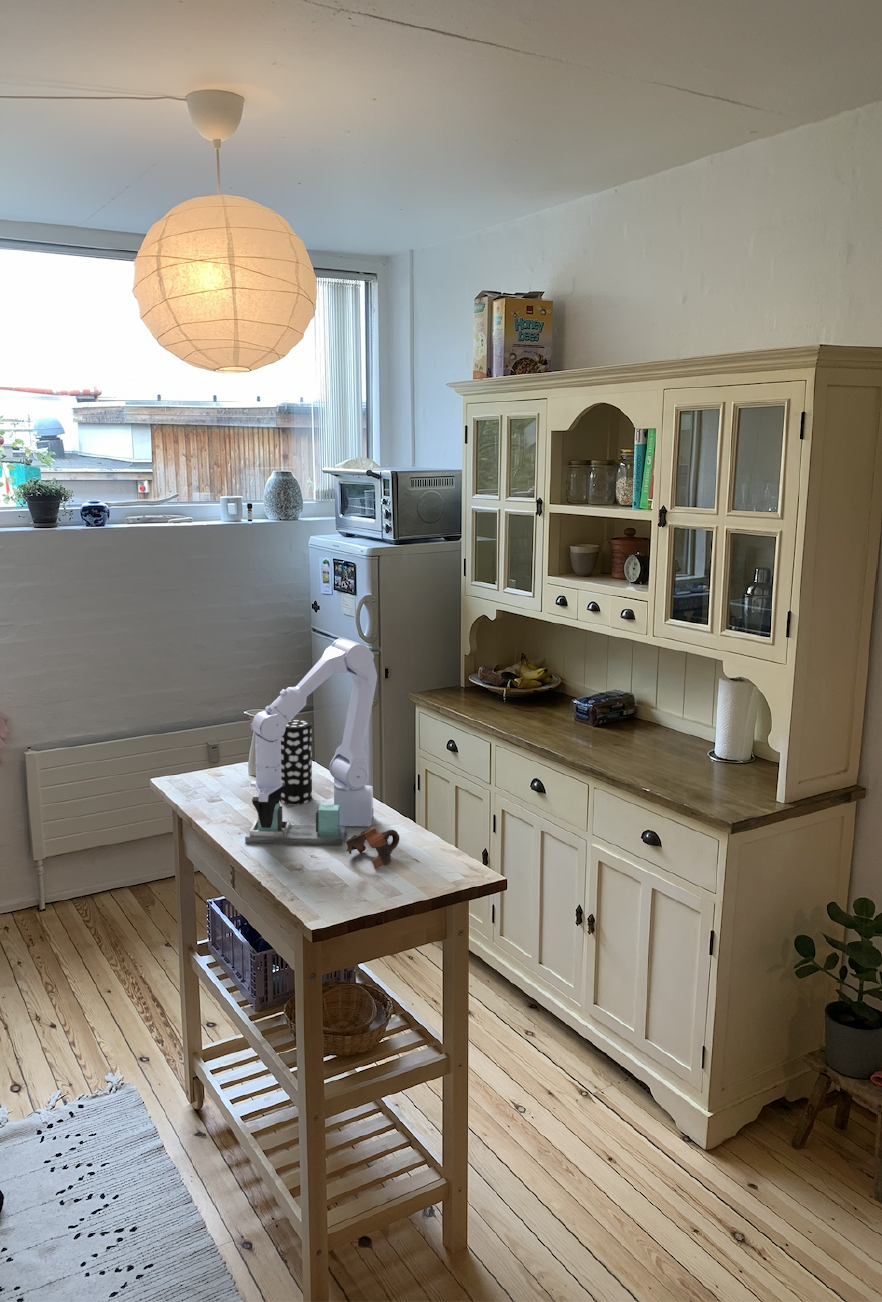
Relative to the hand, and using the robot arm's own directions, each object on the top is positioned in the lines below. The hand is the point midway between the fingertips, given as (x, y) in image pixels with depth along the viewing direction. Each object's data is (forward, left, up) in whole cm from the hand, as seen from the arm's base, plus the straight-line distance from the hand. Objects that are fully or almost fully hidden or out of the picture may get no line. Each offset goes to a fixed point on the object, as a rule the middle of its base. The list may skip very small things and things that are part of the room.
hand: (269, 820), depth 223 cm
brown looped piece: (-25, +11, -4) cm, 27 cm away
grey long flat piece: (-6, 0, -4) cm, 7 cm away
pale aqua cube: (0, 0, -2) cm, 2 cm away
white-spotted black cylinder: (-2, -25, -4) cm, 25 cm away
